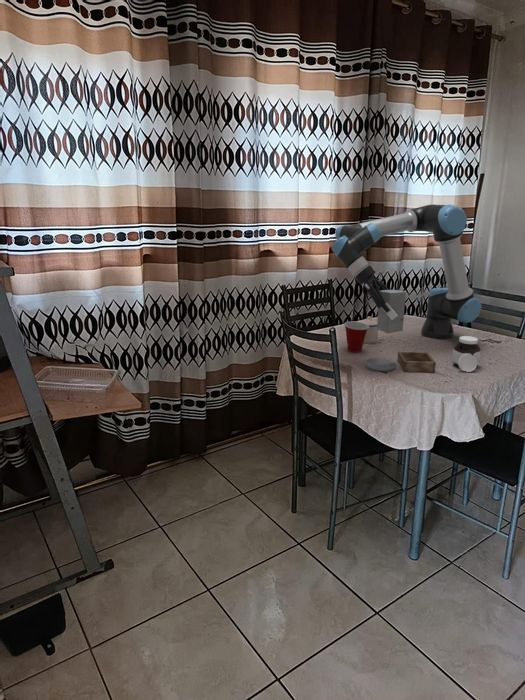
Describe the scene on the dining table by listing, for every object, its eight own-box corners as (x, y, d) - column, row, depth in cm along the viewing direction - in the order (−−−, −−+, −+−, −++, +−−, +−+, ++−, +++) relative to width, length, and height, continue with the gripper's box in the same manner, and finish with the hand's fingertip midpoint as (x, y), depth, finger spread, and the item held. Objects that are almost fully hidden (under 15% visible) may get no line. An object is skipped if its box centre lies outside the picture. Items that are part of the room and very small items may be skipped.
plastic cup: (362, 355, 210) (364, 328, 206) (338, 351, 215) (340, 325, 212) (371, 349, 219) (373, 323, 215) (348, 345, 224) (349, 319, 220)
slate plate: (392, 361, 203) (393, 358, 203) (398, 371, 192) (398, 368, 191) (363, 360, 204) (363, 358, 203) (367, 371, 192) (367, 368, 192)
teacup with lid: (377, 338, 234) (378, 315, 231) (377, 344, 226) (379, 319, 222) (351, 337, 236) (353, 313, 233) (351, 342, 228) (352, 318, 224)
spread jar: (468, 361, 203) (472, 334, 200) (488, 370, 193) (492, 342, 190) (444, 364, 200) (447, 337, 196) (463, 374, 190) (467, 345, 186)
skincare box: (387, 334, 188) (390, 293, 183) (375, 329, 194) (377, 290, 189) (404, 331, 192) (407, 291, 187) (391, 326, 198) (394, 288, 193)
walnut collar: (426, 361, 203) (427, 352, 202) (434, 372, 191) (435, 362, 190) (397, 360, 204) (398, 351, 203) (403, 371, 192) (404, 361, 191)
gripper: (363, 273, 203) (398, 314, 201) (345, 281, 184) (383, 327, 182) (377, 261, 199) (412, 303, 197) (360, 268, 180) (398, 315, 178)
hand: (398, 315), depth 189 cm, fingers closed on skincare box, 10 cm apart
